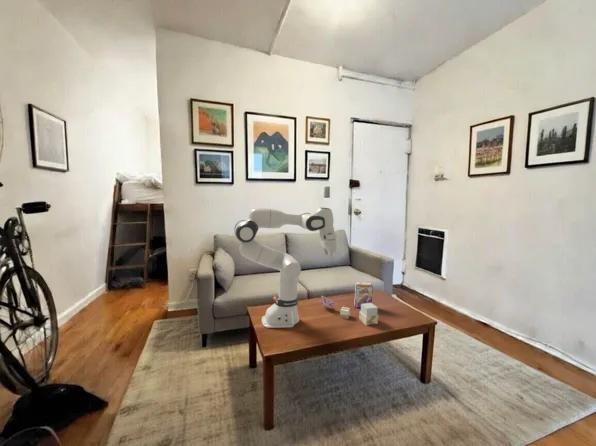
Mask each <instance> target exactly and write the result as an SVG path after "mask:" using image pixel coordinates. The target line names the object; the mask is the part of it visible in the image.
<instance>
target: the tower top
mask: <svg viewBox="0 0 596 446" xmlns="http://www.w3.org/2000/svg"><path fill="white" fill-rule="evenodd" d="M360 311H361V312H362V313H363V314H364V315H365V316H366V317H370V316H377V315H378V306H377V305H376V304H373V302H372V303H364V304H361V308H360Z"/></svg>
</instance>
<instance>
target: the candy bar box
mask: <svg viewBox="0 0 596 446" xmlns="http://www.w3.org/2000/svg"><path fill="white" fill-rule="evenodd" d="M354 284H355V285H354V286H355V287H354V302H353V304H354V308H355V309H357V308H358V309H361V304H364V303H372V304H373V289H374V285H373V283H371V282H362V281H361V282H357V281H356V282H355V283H354Z"/></svg>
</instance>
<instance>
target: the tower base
mask: <svg viewBox="0 0 596 446" xmlns="http://www.w3.org/2000/svg"><path fill="white" fill-rule="evenodd" d="M358 319H359V321H361V322H362V323H363V324H364V325H365V326H369V325H377V324H379V315H378V314H377V316H370V317H366V316H365V315H364V314H363V313H362V312H361V310H359V313H358Z"/></svg>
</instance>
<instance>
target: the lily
mask: <svg viewBox="0 0 596 446" xmlns="http://www.w3.org/2000/svg"><path fill="white" fill-rule="evenodd" d="M320 296H321V299H322V300H321V299H320V300H318V302H320V303H323V306H324V307H325V308H324V309H325V310H324V312H325V313H326V310H327V307H330V308H331V309H334V306H335V305H339V304H338V303H337V302H335V301H333V300H332V299H331V298H327V297H325V296H323V295H320Z"/></svg>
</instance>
